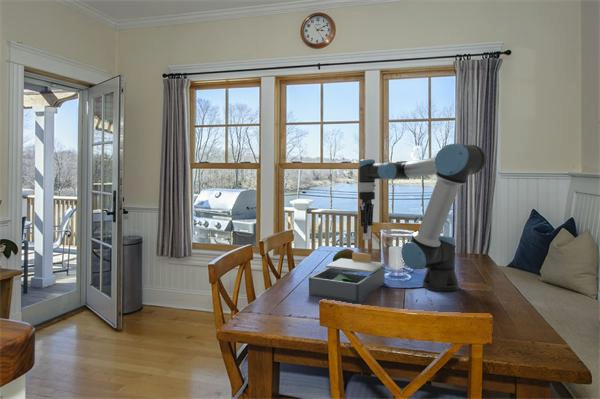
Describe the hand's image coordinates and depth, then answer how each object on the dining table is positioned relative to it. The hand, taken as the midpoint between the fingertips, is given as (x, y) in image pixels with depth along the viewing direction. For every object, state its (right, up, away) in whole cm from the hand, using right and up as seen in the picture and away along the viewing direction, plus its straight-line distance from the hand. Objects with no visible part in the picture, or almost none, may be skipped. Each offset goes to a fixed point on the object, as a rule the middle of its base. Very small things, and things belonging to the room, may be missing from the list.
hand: (366, 239), depth 191 cm
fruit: (-9, -18, +20) cm, 28 cm away
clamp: (-15, -20, -26) cm, 36 cm away
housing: (-11, -20, -19) cm, 30 cm away
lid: (-7, -11, -12) cm, 18 cm away
